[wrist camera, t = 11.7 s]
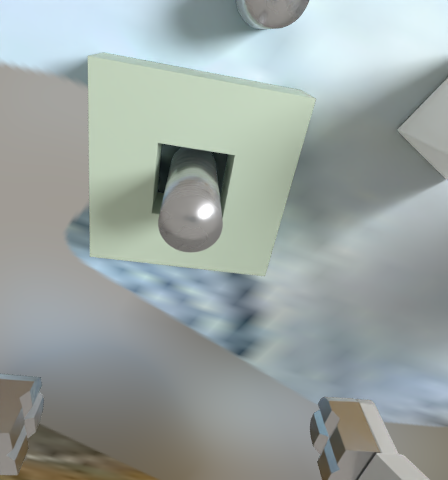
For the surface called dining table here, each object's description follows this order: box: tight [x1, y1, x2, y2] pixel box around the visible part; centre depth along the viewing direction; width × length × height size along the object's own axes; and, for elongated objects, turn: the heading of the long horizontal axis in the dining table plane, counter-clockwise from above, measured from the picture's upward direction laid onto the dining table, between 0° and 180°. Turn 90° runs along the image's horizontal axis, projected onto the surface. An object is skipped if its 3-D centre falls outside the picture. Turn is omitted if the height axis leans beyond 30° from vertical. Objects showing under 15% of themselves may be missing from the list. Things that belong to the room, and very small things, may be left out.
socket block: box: [88, 53, 316, 276], centre depth 27 cm, size 14×14×4 cm
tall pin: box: [158, 147, 223, 252], centre depth 24 cm, size 4×4×10 cm
